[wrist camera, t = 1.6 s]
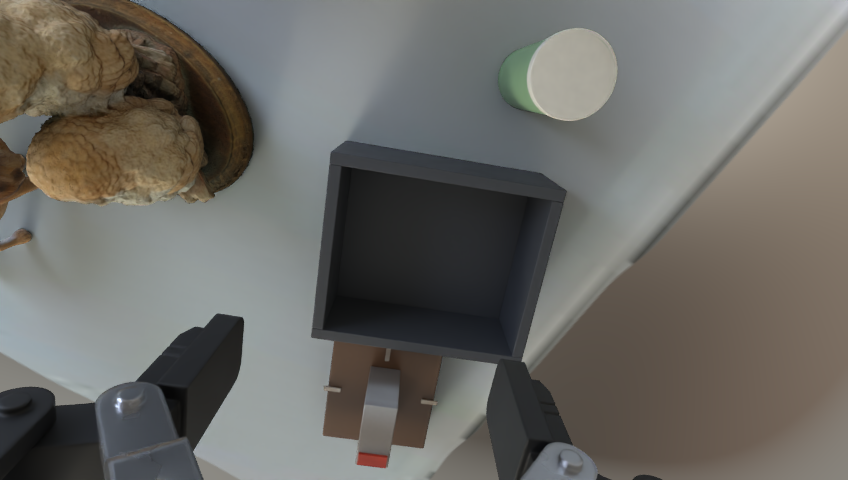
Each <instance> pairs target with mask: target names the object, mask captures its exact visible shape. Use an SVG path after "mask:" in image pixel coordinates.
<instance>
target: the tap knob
mask: <svg viewBox="0 0 848 480" xmlns="http://www.w3.org/2000/svg"><path fill="white" fill-rule="evenodd" d="M399 385H400V370H395V369H388V368H381V367H374V366H371V367H370V373H369V379H368V385H367V391H366V397H365V402H364V409H363V415H362V422H361V428H360V435H359V441H358V448H357V454H356V461H355V463H356V464H357V465H364V466H372V467H380V468H387V467H388V462H389V456H390V451H391V445H392V440H393V434H394V429H395V423H396V417H397V412H398V401H399Z"/></svg>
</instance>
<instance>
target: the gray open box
mask: <svg viewBox="0 0 848 480" xmlns="http://www.w3.org/2000/svg"><path fill="white" fill-rule="evenodd" d="M566 192H567V191H566V190H565V189H563V188H562V187H560V186H559V185H557V184H556V183H555V182H553V181H552V180H550V179H549V178H547V177H546V176H545V175H543V174H542V173H536V172H530V171H524V170H518V169H512V168H506V167H500V166H494V165H489V164H483V163H477V162H471V161H465V160H459V159H453V158H447V157H441V156H435V155H429V154H423V153H417V152H411V151H405V150H399V149H393V148H387V147H381V146H376V145H370V144H364V143H358V142H352V141H345V142H344V143H342V144H341V145H340V146H338V147H337V148H336V149H334V150H333V151H332V152H331V156H330V166H329V175H328V185H327V194H326V203H325V213H324V222H323V232H322V241H321V250H320V260H319V269H318V279H317V288H316V297H315V307H314V316H313V325H312V327H313V328H312V334H311V338H317V339H324V340H331V341H338V342H345V343H353V344H360V345H367V346H374V347H381V348H388V349H395V350H402V351H409V352H416V353H423V354H431V355H438V356H445V357H452V358H459V359H466V360H473V361H480V362H487V363H494V364H498V362H499V360H500V359H507V360H513V361H520V362H521V361H522V357H523V353H524V349H525V346H526V342H527V338H528V334H529V331H530V327H531V323H532V319H533V316H534V312H535V308H536V304H537V301H538V297H539V293H540V289H541V286H542V282H543V278H544V274H545V271H546V267H547V263H548V259H549V256H550V252H551V248H552V244H553V241H554V237H555V233H556V229H557V226H558V222H559V218H560V214H561V211H562V207H563V202H564V200H565V196H566Z"/></svg>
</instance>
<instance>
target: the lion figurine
mask: <svg viewBox="0 0 848 480" xmlns="http://www.w3.org/2000/svg"><path fill="white" fill-rule="evenodd" d="M25 166H26V159H25V158H24V157H23V156H22V155H21V154H15V153H14V152H12V151H11V150H10V149H9V148H8V146H7V145H6V143H5V142H4V141H3V140H2V139H1V138H0V219H1V218H2V216H3V215H4V213H5V211H6V208H7V205H8V201H11V200H13V199H15V198H18V197H20V196H22V195H24V194H26V193H28V192H31V191H33V190H35V189H37V188H38V187H37V186H36V185H35V184H34V183H33V182H31V181H30V178H29V176H28V177H26V176H25V174H24V173H23V172H22V171H23V170H24V168H25ZM31 239H32V236H31V234H30V233H29V232H28V231H26V230H25V229H19V230H17V231H15V232H14V234H13V235H12V236H10V237H9V238H7V239H5V240H2V241H0V251H3V250H5V249H7V248H10V247H12V246H15V245H19V244H24V243H27V242H29V241H30V240H31Z"/></svg>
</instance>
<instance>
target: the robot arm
mask: <svg viewBox="0 0 848 480" xmlns="http://www.w3.org/2000/svg"><path fill="white" fill-rule="evenodd" d="M243 331H244V319H243V318H242V317H237V316H231V315H225V314H216V315H215V316H214V317H213V318H212V319H211V321H210V322H209V323H208V324H207V325H206V326H205V328H200V327H194V328H192V329H190V330H188V331H186V332H184V333H182V334H180V335H179V336H178V337H177V338H176V339H175V340H174V341H173V342H172V343H171V344H170V347H167V348H166V350H165V351H164V352H163V353H162V355H160V356H159V357H158V358H157V359H156V360H155V361H154V362H153V363H152V364H151V365H150V367H149V368H148V369H147V370H146V371H145V372H144V373H143V374H142V375H141V376H140V377H139V378H138V379H137V380H136V381H135V382H129V383H124V384H120V385H117V386H114V387H112V388H110V389H108V390H107V391H105V392H104V393H102V394H101V395H100V396H99V397H98V399H97V400H96V402H95V403H88V404H75V405H61V406H55V396H54V394H53V393H52V392H51V391H49V390H47V389H44V388H39V387H22V388H16V389H11V390H7V391H4V392H1V393H0V480H203V477H202V474H201V472H200V469H199V466H198V464H197V461H196V458H195V456H194V453H193V451H194V449H195V447H196V446H197V444H198V442H199V441H200V439H201V437H202V436H203V434H204V432H205V431H206V429H207V428H208V426H209V424H210V423H211V421H212V419H213V418H214V416H215V414H216V413H217V411H218V409H219V408H220V406H221V405H222V403H223V401H224V400H225V398H226V396H227V395H228V393H229V391H230V390H231V388H232V386H233V385H234V383H235V381H236V379H237V377H238V374H239V370H240V366H241V357H242V344H243ZM486 416H487V423H488V428H489V433H490V438H491V443H492V447H493V452H494V457H495V462H496V467H497V472H498V477H499V480H610V479H608V478H606V477H603V476H601V475H599V474H598V471H597V468H596V465H595V464H594V462H593V461H592V459H591V458H590V457H589V456H588V455H587V454H586V453H584V452H583V451H581V450H580V449H578V448H576V447H575V446H573V444H572V442H571V440H570V438H569V435H568V433H567V430H566V428H565V426H564V423H563V421H562V419H561V416H559V412H558V410H557V407H556V406H555V402H554V400H553V398H552V396H551V393H550V392H549V391H548V389H547V388H546V387H545V386H544V385H543V384H542V383H541V382H540V381H538V380H532V379H531V377H530V375H529V372H528V370H527V367H526V364H525V363H524V362H520V361H513V360H507V359H500V360H499V362H498V365H497V368H496V372H495V376H494V379H493V383H492V387H491V390H490V394H489V398H488V402H487V411H486ZM633 480H662V479H660V478H657V477H654V476H650V475H639V476H636V477H635V478H634V479H633Z"/></svg>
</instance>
